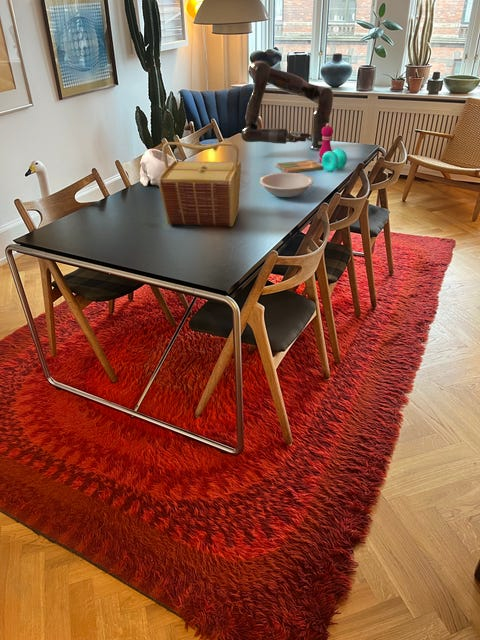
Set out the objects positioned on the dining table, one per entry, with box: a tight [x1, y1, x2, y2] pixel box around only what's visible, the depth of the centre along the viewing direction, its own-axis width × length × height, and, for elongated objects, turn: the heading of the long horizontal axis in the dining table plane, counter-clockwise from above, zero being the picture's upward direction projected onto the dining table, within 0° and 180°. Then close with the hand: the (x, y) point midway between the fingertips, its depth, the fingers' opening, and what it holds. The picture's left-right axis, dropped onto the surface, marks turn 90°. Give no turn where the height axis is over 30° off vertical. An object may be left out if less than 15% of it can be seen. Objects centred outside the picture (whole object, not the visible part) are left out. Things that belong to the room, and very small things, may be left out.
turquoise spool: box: [321, 148, 348, 173], centre depth 244 cm, size 10×10×10 cm
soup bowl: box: [259, 172, 315, 198], centre depth 215 cm, size 24×24×7 cm
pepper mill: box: [318, 122, 334, 164], centre depth 254 cm, size 7×7×20 cm
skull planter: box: [139, 148, 177, 187], centre depth 230 cm, size 14×20×19 cm
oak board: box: [277, 159, 324, 173], centre depth 251 cm, size 14×20×2 cm
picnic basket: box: [158, 141, 242, 228], centre depth 185 cm, size 29×26×30 cm
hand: (307, 137), depth 256 cm, fingers open, 8 cm apart
